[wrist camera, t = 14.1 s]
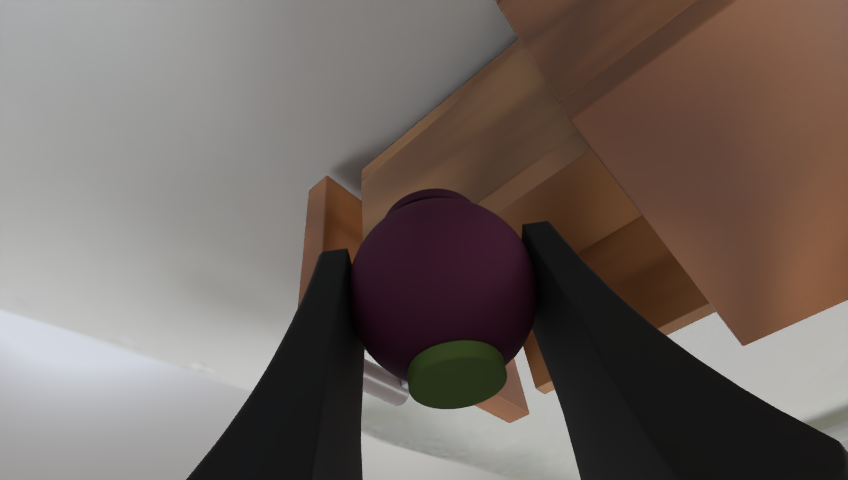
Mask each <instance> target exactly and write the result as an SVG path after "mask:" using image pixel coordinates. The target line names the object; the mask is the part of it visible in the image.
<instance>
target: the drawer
mask: <svg viewBox="0 0 848 480" xmlns="http://www.w3.org/2000/svg"><path fill="white" fill-rule="evenodd" d="M361 181H362V182H361V189H362V201H361V200H360V199H358V198H357V197H355V196H354V195H353V194H351V193H350V192H349V191H347V190H346V189H345V188H343V187H342V186H341V185H339V184H338V183H337V182H335V181H334V180H333V179H331V178H330V177H329V176H326V177H324V178H323V179H322V180H321V181H320V182H319V183H318V184H316V185H315V186H314V187H313V188H312V189H311V190H310V191H309V197H308V208H307V218H306V228H305V239H304V249H303V260H302V270H301V281H300V291H299V302H298V307H299V305H300V303H301V301H302V299H303V296H304V294H305V291H306V289H307V287H308V284H309V282H310V279H311V277H312V274H313V271H314V268H315V266H316V263H317V260H318V257H319V255H320V254H321V253H322V252H323V251H331V250H338V249H345V248H348V252H349V255H350V259H351V262H352V264H353V260H354V258H355V256H356V253H357V251H358V249H359V247H360V245H361V244H362V242H363V241H364V239H365V238H366V236H367V235H368V234H369V233H370V231H371V230H372V229H373V228H374V227H375V226H376V225H377V224H378V223H379V222H380V221H381V220H382V219H384V218H385V216H386V214H387V213H388V211H389V210H390V208H391V207H392V206H393V205H394V204H395V203H396V202H397V201H398V200H400V199H401V198H403V197H405V196H407V195H408V194H411V193H413V192H416V191H420V190H424V189H433V188H438V189H447V190H451V191H455V192H457V193H459V194H461V195H463V196H465V197H466V198H467V199H469V200H470V201H471V202H472V203H475V204H477V205H480V206H482V207H484V208H486V209H488V210H490V211H491V212H493V213H495V214H496V215H498V216H499V217H500V218H502V219H503V220H504V221H505V222H506V223H507V224H508V225H509V226H511V227H512V229H513V230H514V231H515V232H516V233H517V234H518V236H519V237H520V239H521V237H522V224H528V223H536V222H543V221H548V222H549V223H551V224H552V225H553V227H554V228H555V229H556V230H557V231H558V232H559V234H560V235H561V236H562V237H563V238H564V239H565V240H566V242H567V243H568V244H569V245H570V246H571V247H572V248H573V249H574V251H575V252H576V253H577V254H578V255H579V256H580V257H581V258H582V259H583V260H584V261H585V262H586V263H587V264H588V266H589V267H590V268H591V269H592V270H593V271H594V272H595V273H596V274H597V275H598V276H599V277H600V278H601V279H602V280H603V281H604V282H605V283H606V284H607V285H608V286H609V287H610V288H611V289H613V290H614V291H615V292H616V293H617V294H618V295H619V296H620V297H621V298H622V299H623V300H624V301H625V302H627V303H628V304H629V305H630V306H631V307H632V308H633V309H634V310H636V311H637V312H638V313H639V314H640V315H641V316H642V317H644V318H645V319H646V320H647V321H648V322H650V323H651V324H652V325H653V326H654V327H656V328H657V329H658V330H659V331H661V332H662V333H663V334H665V335H668V334H670V333H672V332H675V331H677V330H679V329H681V328H683V327H685V326H687V325H689V324H691V323H693V322H695V321H697V320H699V319H702V318H704V317H706V316H708V315H710V314H712V313H714V312H716V311H715V310H714V308H713V307H712V306H711V304H710V303H709V302H708V300H707V299H706V298H705V296H704V295H703V294H702V293H701V291H700V290H699V289H698V287H697V286H696V285H695V283H694V282H693V281H692V280H691V278H690V277H689V276H688V274H687V273H686V272H685V270H684V269H683V268H682V266H681V265H680V264H679V263H678V261H677V260H676V259H675V257H674V256H673V255H672V253H671V252H670V251H669V250H668V248H667V247H666V246H665V244H664V243H663V242H662V240H661V239H660V238H659V237H658V235H657V234H656V233H655V231H654V230H653V229H652V227H651V226H650V225H649V223H648V222H647V221H646V220H645V218H644V217H643V216H642V214H641V213H640V212H639V210H638V209H637V208H636V207H635V205H634V204H633V203H632V201H631V200H630V199H629V197H628V196H627V195H626V193H625V192H624V191H623V190H622V188H621V187H620V186H619V184H618V183H617V182H616V180H615V179H614V178H613V177H612V175H611V174H610V173H609V171H608V170H607V169H606V167H605V166H604V165H603V163H602V162H601V161H600V160H599V158H598V157H597V156H596V154H595V153H594V152H593V150H592V149H591V148H590V147H589V145H588V144H587V143H586V141H585V140H584V139H583V137H582V136H581V135H580V133H579V132H578V131H577V130H576V128H575V127H574V126H573V124H572V123H571V122H570V120H569V119H568V117H567V116H566V114H565V112H564V111H563V109H562V108H561V105H560V104H559V103H558V101H557V99H556V98H555V96H554V94H553V93H552V91H551V90H550V88H549V86H548V85H547V83H546V82H545V80H544V78H543V77H542V75H541V74H540V72H539V70H538V69H537V67H536V65H535V64H534V62H533V61H532V59H531V57H530V56H529V54H528V53H527V51H526V49H525V48H524V46H523V44H522V43H521V41H520V40H519V38H518V39H517V40H516V41H515V42H513V43H512V44H511V45H510V46H509V47H507V48H506V49H505V50H504V51H503V52H501V53H500V54H499V55H498V56H497V57H496V58H494V59H493V60H492V61H491V62H490V63H488V64H487V65H486V66H485V67H484V68H482V69H481V70H480V71H479V72H478V73H476V74H475V75H474V76H473V77H472V78H471V79H469V80H468V81H467V82H466V83H465V84H463V85H462V86H461V87H460V88H459V89H457V90H456V91H455V92H454V93H453V94H451V95H450V96H449V97H448V98H447V99H446V100H444V101H443V102H442V103H441V104H440V105H438V106H437V107H436V108H435V109H434V110H432V111H431V112H430V113H429V114H428V115H426V116H425V117H424V118H423V119H422V120H421V121H419V122H418V123H417V124H416V125H415V126H413V127H412V128H411V129H410V130H409V131H407V132H406V133H405V134H404V135H403V136H401V137H400V138H399V139H398V140H397V141H396V142H394V143H393V144H392V145H391V146H390V147H388V148H387V149H386V150H385V151H384V152H382V153H381V154H380V155H379V156H378V157H376V158H375V159H374V160H373V161H372V162H371V163H369V164H368V165H367V166H366V167H365V168H363V169H362V170H361ZM523 347H524V350H525V354H526V357H527V361H528V364H529V367H530V371H531V374H532V377H533V381H534V384H535V387H536V389H537V390H539V391H541V392H542V393H544V394H546V393H548V392H550V391H552V390H554V389H555V388H554V385H553V383H552V380H551V377H550V375H549V372H548V370H547V367H546V364H545V362H544V359H543V357H542V354H541V351H540V349H539V346H538V343H537V341H536V338H535V335H534V333H533V330H532V329H531V331H530V333H529V336H528V338H527V340H526V342H525V343H524V345H523ZM365 350H366V349H365ZM505 367H506V371H507V380H506V383H505V385H504V387H503V388H502V389H501V390H500V391H499V392H498V393H497V394H496V395H494V396H493V397H491V398H490V399H488V400H486V401H484V402H481V403H479V404H476V405H475V406H477V407H479V408H481V409H483V410H485V411H487V412H489V413H491V414H493V415H495V416H496V417H498V418H500V419H502V420H504V421H506V422H508V423H511V422H513V421H515V420H518V419H520V418H522V417H524V416H526V415H528V414H529V410H528V407H527V403H526V399H525V396H524V392H523V389H522V385H521V381H520V378H519V374H518V371H517V367H516V363H515V360H514V358H513V359H512V360H511V361H510V362H509V363H508V364H507V365H506V366H505ZM363 391H364V392H366V393H369V394H371V395H373V396H375V397H378V398H380V399H382V400H384V401H387V402H389V403H391V404H393V405H396V406H398V405H401V404H403V403H404V402H405V401H406V400H407V399H408V397H409V394H410V393H409V390H408V382H406V381H404V380H402V379H399V378H397V377H396V376H394V375H392V374H391V373H390V372H388V371H387V370H385V369H384V368H382V367H380V366H378V365H376V364H374V363H372V362H370V361H368V360H366V359H364V372H363Z"/></svg>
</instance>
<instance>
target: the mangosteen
mask: <svg viewBox="0 0 848 480" xmlns="http://www.w3.org/2000/svg"><path fill="white" fill-rule="evenodd" d="M349 299H350V310H351V317H352V322H353V325H354V328H355V331H356V333H357V335H358V338H359V339H360V341H361V343H362V344H363V346H364V347H365V349H366V350H367V352H368V353H369V354H370V355H371V356H372V357H373V359H374V360H375V361H376V362H377V363H378V364H379V365H380V366H382V367H383V368H384V369H385V370H387V371H388V372H390V373H391V374H392V375H394V376H396V377H397V378H399V379H402V380H404V381H406V382H408V390H409V393H410V395H411V396H412V398H413V399H414V400H415V401H417V402H418V403H420V404H422V405H425V406H428V407H432V408H438V409H457V408H464V407H469V406H472V405H476V404H479V403H481V402H484V401H486V400H488V399H490V398H491V397H493V396H494V395H496V394H497V393H498V392H499V391H500V390H501V389H502V388H503V387H504V385H505V383H506V380H507V371H506V367H505V366H506V365H507V364H508V363H509V362H510V361H511V360H512V359H513V358H514V357H515V356H516V355H517V353H518V352H519V351H520V349H521V348H522V346H523V345H524V343H525V342H526V340H527V338H528V336H529V333H530V331H531V329H532V327H533V323H534V319H535V316H536V312H537V303H538V286H537V278H536V274H535V269H534V266H533V263H532V259H531V256H530V254H529V252H528V250H527V248H526V246H525V245H524V243H523V241H522V240H521V239H520V237H519V236H518V234H517V233H516V232H515V231H514V230H513V229H512V227H511V226H509V225H508V224H507V223H506V222H505V221H504V220H503V219H502V218H500V217H499V216H498V215H496V214H495V213H493V212H491V211H490V210H488V209H486V208H484V207H482V206H480V205H477V204H475V203H472V202H471V201H470V200H469V199H467V198H466V197H465V196H463V195H461V194H459V193H457V192H455V191H451V190H447V189H438V188H433V189H424V190H420V191H416V192H413V193H411V194H408V195H407V196H405V197H403V198H401V199H400V200H398V201H397V202H396V203H395V204H394V205H393V206H392V207H391V208H390V210H389V211H388V213H387V214H386V216H385V218H384V219H382V220H381V221H380V222H379V223H378V224H377V225H376V226H375V227H374V228H373V229H372V230H371V231H370V233H369V234H368V235H367V236H366V238H365V239H364V241H363V242H362V244H361V245H360V247H359V249H358V251H357V253H356V256H355V258H354V260H353V264H352V267H351V271H350V277H349Z"/></svg>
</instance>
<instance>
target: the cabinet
mask: <svg viewBox="0 0 848 480" xmlns="http://www.w3.org/2000/svg"><path fill="white" fill-rule="evenodd" d="M495 1H496V3H497V4H498V6H499V7H500V9H501V11H502V12H503V14H504V15H505V17H506V19H507V20H508V22H509V23H510V25H511V27H512V28H513V30H514V32H515V33H516V35H517V36H518V38H519V40H520V41H521V43H522V44H523V46H524V48H525V49H526V51H527V53H528V54H529V56H530V57H531V59H532V61H533V62H534V64H535V65H536V67H537V69H538V70H539V72H540V74H541V75H542V77H543V78H544V80H545V82H546V83H547V85H548V86H549V88H550V90H551V91H552V93H553V94H554V96H555V98H556V99H557V101H558V103H559V104H560V105H561V108H562V109H563V111H564V112H565V114H566V116H567V117H568V119H569V120H570V122H571V123H572V124H573V126H574V127H575V128H576V130H577V131H578V132H579V133H580V135H581V136H582V137H583V139H584V140H585V141H586V143H587V144H588V145H589V147H590V148H591V149H592V150H593V152H594V153H595V154H596V156H597V157H598V158H599V160H600V161H601V162H602V163H603V165H604V166H605V167H606V169H607V170H608V171H609V173H610V174H611V175H612V177H613V178H614V179H615V180H616V182H617V183H618V184H619V186H620V187H621V188H622V190H623V191H624V192H625V193H626V195H627V196H628V197H629V199H630V200H631V201H632V203H633V204H634V205H635V207H636V208H637V209H638V210H639V212H640V213H641V214H642V216H643V217H644V218H645V220H646V221H647V222H648V223H649V225H650V226H651V227H652V229H653V230H654V231H655V233H656V234H657V235H658V237H659V238H660V239H661V240H662V242H663V243H664V244H665V246H666V247H667V248H668V250H669V251H670V252H671V253H672V255H673V256H674V257H675V259H676V260H677V261H678V263H679V264H680V265H681V266H682V268H683V269H684V270H685V272H686V273H687V274H688V276H689V277H690V278H691V280H692V281H693V282H694V283H695V285H696V286H697V287H698V289H699V290H700V291H701V293H702V294H703V295H704V296H705V298H706V299H707V300H708V302H709V303H710V304H711V306H712V307H713V308H714V310H715V311H716V312H717V313H718V315H719V316H720V317H721V319H722V320H723V321H724V323H725V324H726V325H727V326H728V328H729V329H730V330H731V332H732V333H733V334H734V336H735V337H736V338H737V340H738V341H739V342H740V343H741V345H743V346H745V345H747V344H749V343H751V342H754V341H756V340H758V339H760V338H763V337H765V336H767V335H770V334H772V333H774V332H776V331H779V330H781V329H783V328H785V327H788V326H790V325H792V324H794V323H797V322H799V321H801V320H803V319H806V318H808V317H810V316H812V315H815V314H817V313H819V312H821V311H824V310H826V309H828V308H830V307H833V306H835V305H837V304H839V303H842V302H844V301H846V300H848V0H495Z"/></svg>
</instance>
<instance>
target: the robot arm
mask: <svg viewBox="0 0 848 480" xmlns="http://www.w3.org/2000/svg"><path fill="white" fill-rule="evenodd" d="M521 240H522V241H523V243H524V245H525V246H526V248H527V250H528V252H529V254H530V256H531V259H532V263H533V266H534V269H535V274H536V278H537V286H538V303H537V312H536V316H535V319H534V323H533V327H532V330H533V333H534V335H535V338H536V341H537V343H538V346H539V349H540V351H541V354H542V357H543V359H544V362H545V364H546V367H547V370H548V372H549V375H550V377H551V380H552V383H553V385H554V388H555V391H556V393H557V396H558V399H559V402H560V405H561V408H562V411H563V414H564V417H565V421H566V425H567V428H568V432H569V436H570V439H571V443H572V447H573V450H574V454H575V458H576V462H577V466H578V470H579V474H580V477H581V480H848V452H847V451H846V450H845V449H844V447H843V446H842V445H841V443H840V442H839V441H837V440H835V439H834V438H832V437H830V436H828V435H826V434H824V433H822V432H820V431H818V430H816V429H815V428H813V427H811V426H809V425H807V424H805V423H803V422H801V421H799V420H797V419H796V418H794V417H792V416H790V415H788V414H786V413H784V412H782V411H780V410H779V409H777V408H775V407H773V406H772V405H770V404H768V403H766V402H765V401H763V400H761V399H760V398H758V397H756V396H755V395H753V394H751V393H750V392H748V391H746V390H744V389H743V388H741V387H739V386H738V385H736V384H735V383H733V382H732V381H730V380H729V379H727V378H726V377H724V376H723V375H721V374H720V373H718V372H717V371H715V370H714V369H712V368H711V367H709V366H707V365H706V364H704V363H703V362H701V361H700V360H698V359H697V358H695V357H694V356H693V355H691V354H690V353H689V352H687V351H686V350H685V349H683V348H682V347H680V346H679V345H678V344H676V343H675V342H674V341H672V340H671V339H670V338H668V337H667V336H666V335H665V334H663V333H662V332H661V331H659V330H658V329H657V328H656V327H654V326H653V325H652V324H651V323H650V322H648V321H647V320H646V319H645V318H644V317H642V316H641V315H640V314H639V313H638V312H637V311H636V310H634V309H633V308H632V307H631V306H630V305H629V304H628V303H627V302H625V301H624V300H623V299H622V298H621V297H620V296H619V295H618V294H617V293H616V292H615V291H614V290H613V289H611V288H610V287H609V286H608V285H607V284H606V283H605V282H604V281H603V280H602V279H601V278H600V277H599V276H598V275H597V274H596V273H595V272H594V271H593V270H592V269H591V268H590V267H589V266H588V264H587V263H586V262H585V261H584V260H583V259H582V258H581V257H580V256H579V255H578V254H577V253H576V252H575V251H574V249H573V248H572V247H571V246H570V245H569V244H568V243H567V242H566V240H565V239H564V238H563V237H562V236H561V235H560V234H559V232H558V231H557V230H556V229H555V228H554V227H553V225H552V224H551V223H549V222H548V221H543V222H536V223H528V224H522V237H521ZM351 267H352V262H351V259H350V255H349V252H348V248H345V249H338V250H331V251H323V252H322V253H321V254H320V255H319V257H318V260H317V263H316V266H315V268H314V271H313V274H312V277H311V279H310V282H309V284H308V287H307V289H306V291H305V294H304V296H303V299H302V301H301V303H300V305H299V307H298V309H297V312H296V314H295V316H294V318H293V320H292V322H291V324H290V326H289V328H288V330H287V332H286V334H285V336H284V338H283V340H282V342H281V344H280V345H279V347H278V349H277V351H276V353H275V355H274V357H273V358H272V360H271V362H270V364H269V365H268V367H267V369H266V371H265V372H264V374H263V376H262V377H261V379H260V380H259V382H258V384H257V385H256V387H255V388H254V390H253V391H252V393H251V395H250V396H249V398H248V399H247V401H246V402H245V404H244V405H243V406H242V408H241V409H240V411H239V412H238V414H237V415H236V416H235V418H234V419H233V421H232V422H231V423H230V425H229V427H228V428H227V429H226V431H225V432H224V433H223V434H222V436H221V437H220V438H219V440H218V441H217V442H216V444H215V445H214V446H213V447H212V449H211V450H210V451H209V452H208V454H207V455H206V456H205V457H204V458H203V460H202V461H201V462H200V463H199V465H198V466H197V467H196V468H195V470H194V471H193V472H192V473H191V474H190V476H189V477H188V478H187V479H186V480H363V479H362V458H361V413H362V393H363V372H364V351H365V347H364V346H363V344H362V343H361V341H360V339H359V338H358V335H357V333H356V331H355V328H354V325H353V322H352V317H351V310H350V299H349V277H350V271H351Z"/></svg>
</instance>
